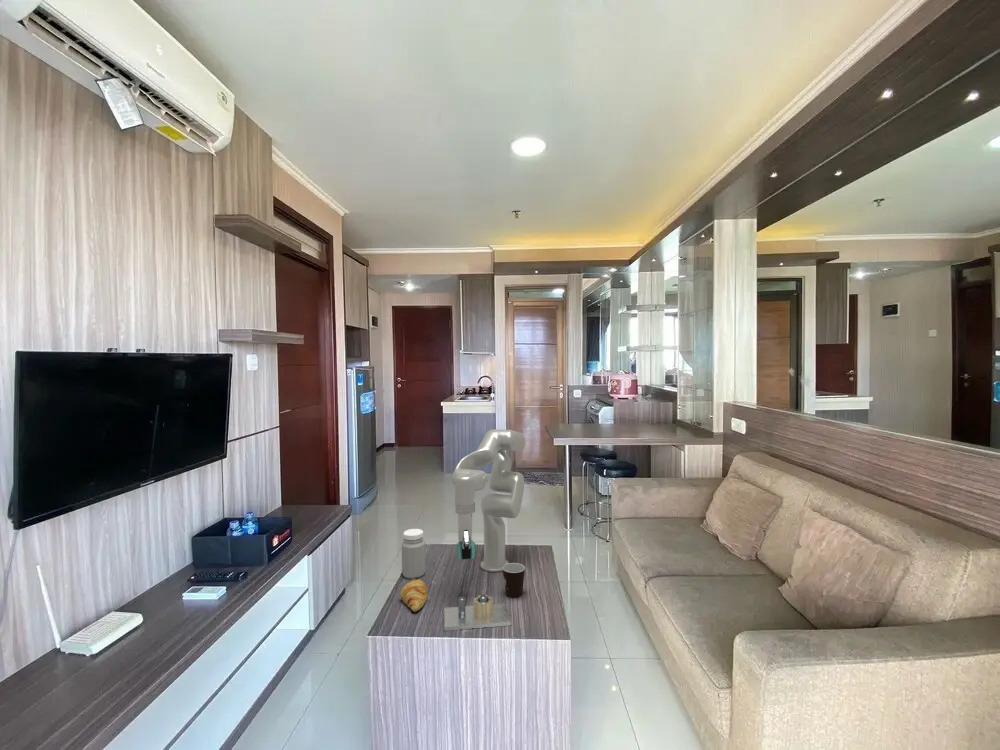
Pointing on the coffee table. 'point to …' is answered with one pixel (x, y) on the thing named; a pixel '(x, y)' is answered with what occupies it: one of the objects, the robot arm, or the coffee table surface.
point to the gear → (460, 546)
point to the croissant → (414, 594)
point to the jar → (413, 554)
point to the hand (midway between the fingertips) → (466, 554)
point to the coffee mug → (513, 579)
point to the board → (476, 614)
